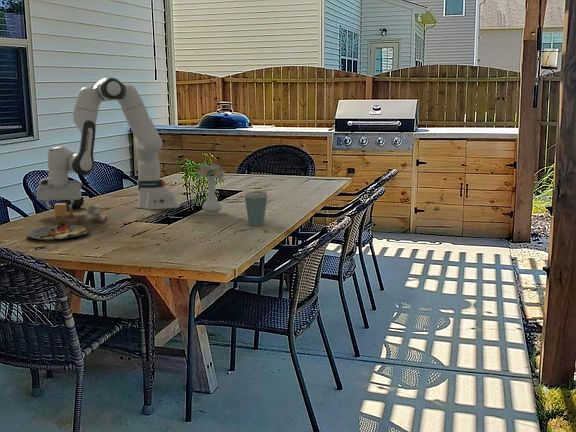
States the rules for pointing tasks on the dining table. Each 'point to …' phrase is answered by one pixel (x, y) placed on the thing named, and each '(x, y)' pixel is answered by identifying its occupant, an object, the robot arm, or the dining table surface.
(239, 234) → the dining table surface
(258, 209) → the disposable coffee cup
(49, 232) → the food plate
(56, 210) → the tan wooden cube
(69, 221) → the peg board
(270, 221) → the dining table surface
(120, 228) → the dining table surface
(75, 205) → the end cap
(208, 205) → the flower vase
